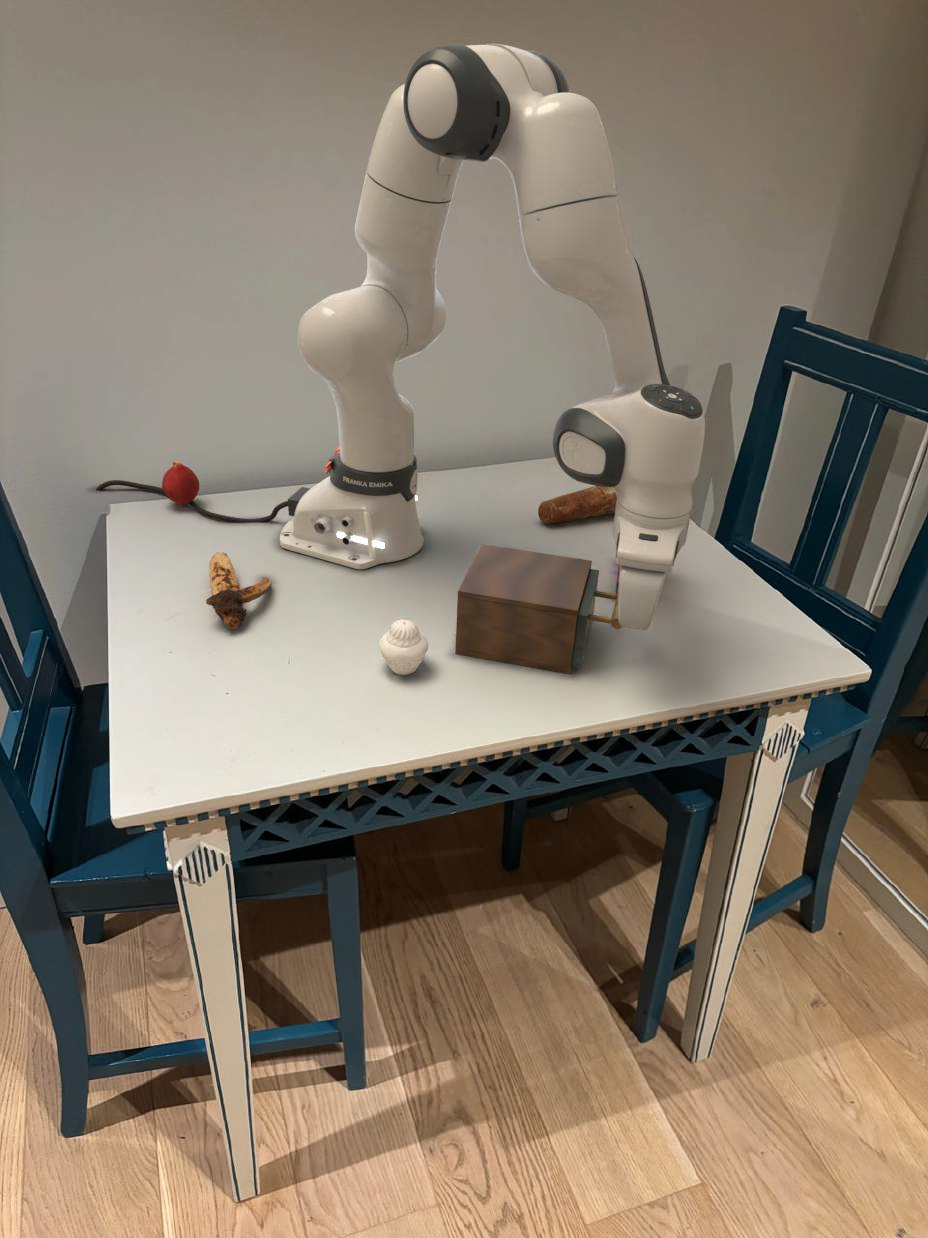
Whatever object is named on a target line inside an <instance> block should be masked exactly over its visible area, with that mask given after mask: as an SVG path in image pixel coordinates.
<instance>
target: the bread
mask: <svg viewBox="0 0 928 1238" xmlns="http://www.w3.org/2000/svg"><path fill="white" fill-rule="evenodd" d="M617 495H618V492H617V489H616V488H614V487H601V486H595V485H593V486H590V487H587V488H584V489H581V490H580V489H579V490H577V491H573V492H570V493H565V494H563V495H560V496H556V497H553V498H550V499H547V500H544V501H542V502H541V503H540V504H539V506H538V509H537V515H538V519H539V520H540V522H542V523H543V524H546V525H550V524H555V523H561V522H562V523H563V522H570V521H571V522H572V521H577V520H583V519H587V518H594V517H598V516H604V515H610V514H615V509H616V502H617Z"/></svg>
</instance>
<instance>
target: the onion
mask: <svg viewBox="0 0 928 1238" xmlns="http://www.w3.org/2000/svg"><path fill="white" fill-rule="evenodd" d="M161 488H163V492H164V493H165V494H164V495H165V496H166V497H167V498H168V499H169V500H170V501H172V502H173V503H176V504H177V505H179V506H181V507H186V506H187V505H189V503H190V502H191V501H193V502H194V500H195V499H196V498H197V496H198V494H199V491H200V481H199V478H198V476H197V474H196V473H195V472H194V471H193V470H192V469H191V468H189V467H188V466H186V465H185V464H183V463H181V462H180V461H179V460H174V461H173V462H172V466H171V467H170V468H169V469H167V470H166V472H165V473H164V475H163V477H162V483H161Z"/></svg>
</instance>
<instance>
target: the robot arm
mask: <svg viewBox="0 0 928 1238" xmlns="http://www.w3.org/2000/svg"><path fill="white" fill-rule="evenodd" d="M611 155H612V154H611V150H610V146H609V143H608V138H607V135H606V132H605V128H604V124H603V121H602V119H601V116H600V112H599V111H598V109H597V107H596V105H595V104H594V103H593V102H592V101H591V100H590V99H588V98H587V97H586V96H583V95H580V94H578V93H573V92H570V88H569V84H568V81H567V78H566V76H565V74H564V72H563V70H562V69H561V67H559V65H558V64H557V63H556V62H555V61H553V60H552V59H551V57H548V56H547V55H545V54H543V53H541V52H539V51H536V50H534V49H527V48H525V49H524V48H523V49H522V48H519V47H515V46H511V45H508V44H501V43H487V44H467V45H464V44H461V43H449V44H444V45H440V46H436V47H433V48H432V49H429V50H427V51H426V52H424V53H423V54H422V55H420V56H419V57H418V58H417V59H416V60H415V62H414V63H413V64H412V66H411V68H410V70H409V71H408V74H407V76H406V79H405V83H403V84H401V85H400V86H398V87H397V88H396V89H395V90H394V91H393V92H392V93H391V95H390V97H389V99H388V102H387V104H386V106H385V109H384V111H383V114H382V116H381V119H380V122H379V124H378V127H377V129H376V133H375V136H374V140H373V143H372V146H371V150H370V153H369V157H368V161H367V166H366V171H365V177H364V181H363V185H362V189H361V195H360V199H359V204H358V209H357V214H356V218H355V224H354V235H355V239H356V242H357V243H358V245H359V247H360V248H361V249H362V250H363V252H364V253H365V254H366V258H367V259H366V261H367V267H366V276H365V279H364V281H363V282H362V284H361V285H360V286H358V287H355V288H352V289H348V290H344V291H341V292H336V293H333V294H330V295H328V296H327V297H325V298H323V299H322V300H320V301H319V302H317V303H316V304H314V305H312V307H310V308H309V309H307V310H306V311H305V312H304V313H303V315H302V316H301V318H300V320H299V322H298V326H297V332H296V333H297V335H296V337H297V345H298V348H299V352H300V355H301V357H302V359H303V361H304V362H305V364H306V365H307V367H308V368H309V369H310V371H312V372H313V373H314V374H315V375H316V376H317V377H319V378H321V379H322V380H323V381H324V382H325V384H326V385H327V387H328V389H329V391H330V394H331V396H332V399H333V403H334V405H335V410H336V415H337V426H338V427H337V429H338V441H339V446H338V447H337V448H336V449H335V450H334V451H333V455H332V456H331V457H329V459H328V463H326V465H325V466H324V469H325V471H324V474H325V475H327V474H329V476H327V477H326V478H324V479H322V480H321V481H319V482H318V483H317V484H315V485H314V486H311V488H309V487H304V486H301V487H300V488H298V489H297V491H295V492H294V493H293V494H292V495H290V496H289V497H288V498H287V500H286V501H283V502H280V503H279V504H277V505H276V506H274V508H273V510H272V512H271V513H270V514H269V515H267V516H263V517H258V518H243V517H235V516H229V515H223V514H220V513H216V512H212V511H208V510H206V509H205V508H203V507H201V506H200V505H199V504H198V503H196V502H195V501H194V500H193V501H191V502H190V503H189V504H188V506H190V507H192V508H193V509H194V510H195V511H197V512H198V513H199V514H201V515H203V516H205V517H207V518H210V519H214V520H218V521H222V522H223V521H224V522H229V523H234V524H235V523H236V524H237V523H238V524H251V523H253V524H254V523H267V522H271V521H272V520H274V519H275V518H276V517H277V515H278V514H279V512H280V511H281V510H282V509H285V508H287V510H288V516H290V517H292V518H291V519H289V520H288V521H287V522H286V524H285V525H284V526H283V528H282V529H281V531H280V534H279V545H280V548H282V549H285V550H288V551H291V552H295V553H299V554H302V555H306V556H310V557H313V558H316V559H319V560H324V561H327V562H330V563H334V564H337V565H341V566H345V567H348V568H351V569H355V570H366V569H369V568H372V567H374V566H377V565H380V564H385V563H386V564H387V563H393V562H398V561H402V560H404V559H408V558H410V557H412V556H413V555H416V554H417V553H418V552H420V550H421V549H422V548H423V546H424V544H425V543H424V541H425V540H424V536H423V533H422V530H421V526H420V521H419V516H418V509H417V501H418V495H417V490H418V479H419V478H418V476H419V474H418V471H419V470H418V460H417V456H416V455H415V410H414V407H413V405H412V403H411V402H410V400H408V399H407V398H405V396H403V395H402V394H400V393H399V391H398V389H397V385H396V381H395V374H394V372H395V365H396V364H397V363H400V362H402V361H404V360H407V359H409V358H412V357H415V356H417V355H419V354H421V353H422V352H424V351H425V350H426V349H427V348H429V347H430V346H431V345H432V344H433V343H434V342H436V341H437V339H438V338H440V337H441V335H442V333H443V331H444V330H445V327H446V322H447V308H446V304H445V301H444V299H443V295H441V293H440V291H439V290H438V288H437V266H438V265H437V264H438V257H439V251H440V247H441V243H442V240H443V236H444V235H443V234H444V232H445V227H446V223H447V220H448V217H449V212H450V209H451V204H452V201H453V197H454V195H455V190H456V186H457V182H458V178H459V175H460V172H461V169H462V166H463V164H464V162H465V161H470V162H471V161H472V162H480V163H485V162H487V161H489V160H493V159H495V160H496V161H499V162H500V163H501V164H502V165H504V167H505V168H506V169H507V171H508V172H509V174H510V177H511V179H512V183H513V187H514V191H515V199H516V206H517V214H518V221H519V228H520V229H519V230H520V235H521V242H522V246H523V250H524V254H525V256H526V259H527V263H528V265H529V268H530V269H531V271H532V273H533V275H535V276H536V277H537V279H539V280H540V282H542V283H543V284H544V285H546V286H547V287H549V288H550V289H551V290H554V291H556V292H558V293H559V294H563V295H566V296H568V297H571V298H573V299H576V300H579V301H581V302H582V303H584V304H585V305H587V306H588V307H589V308H590V309H591V310H592V311H593V312H594V314H595V315H596V316H597V318H598V319H599V322H600V324H601V327H602V331H603V335H604V340H605V342H606V347H607V351H608V355H609V360H610V364H611V367H612V372H613V376H614V386H613V389H612V392H611V393H609V394H606V395H602V396H600V397H596V398H592V399H590V400H587V401H584V402H581V403H579V404H576V405H574V406H573V407H570V408H568V409H566V410H565V411H564V412H562V414H561V415H560V416H559V417H558V419H557V421H556V422H555V426H554V429H553V433H552V435H553V436H552V448H553V453H554V456H555V459H556V461H557V463H558V465H559V467H560V468H561V470H562V471H563V473H565V474H566V475H567V476H568V477H569V478H571V479H573V480H574V481H576V482H579V483H583V484H586V485H592V486H601V487H614V488H616V489H617V492H618V495H617V502H616V509H615V513H614V517H613V524H612V531H611V532H612V537H613V538H614V543H615V547H616V549H615V552H616V553H615V564H616V565H617V566H618V565H620V572H619V595H618V622H619V625H620V626H622V628H626V629H631V630H637V631H647V630H649V628H650V627H651V624H652V622H653V620H654V617H655V614H656V610H657V607H658V603H659V600H660V596H661V594H662V591H663V587H664V584H665V580H666V577H667V573H671V572H672V571H673V567H674V566H675V561H676V558H677V556H678V554H679V552H680V551H681V550H682V548H683V547H684V546H685V544H686V542H687V537H688V532H689V527H690V523H691V522H690V521H691V518H692V517H691V515H692V511H693V507H694V506H693V504H694V501H693V488H694V484H695V482H696V480H697V479H698V477H699V474H700V470H701V464H702V459H703V452H704V444H705V436H706V435H705V434H706V417H705V412H704V407H703V405H702V403H701V401H700V400H699V399H698V398H697V397H696V396H694V395H693V394H692V393H691V392H689V391H687V390H685V389H683V388H681V387H678V386H675V385H671V383H670V381H669V379H668V376H667V373H666V370H665V366H664V362H663V358H662V357H663V356H662V353H661V349H660V343H659V338H658V334H657V328H656V325H655V320H654V316H653V311H652V307H651V302H650V298H649V293H648V289H647V285H646V281H645V278H644V275H643V272H642V269H641V266H640V264H639V262H638V261H637V258H636V257H635V256H634V255H633V253H632V250H631V248H630V246H629V242H628V239H627V236H626V233H625V229H624V225H623V220H622V215H621V210H620V202H619V197H618V188H617V187H618V186H617V181H616V176H615V174H616V173H615V170H614V164H613V159H612V156H611ZM111 486H122V487H128V488H129V487H130V488H135V489H139V490H145V491H152V492H156V493H160V494H163V495H166V494H165V493H164V492H163V488H162V487H159V486H155V485H150V484H143V483H139V482H138V483H137V482H132V481H128V480H120V479H113V480H106V481H104V482H103V484H102V483H100V484H99V485H98V486H97V487H96V489H95V491H97V492H98V491H99V492H100V491H103V490H105V489H106V488H108V487H111Z"/></svg>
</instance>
